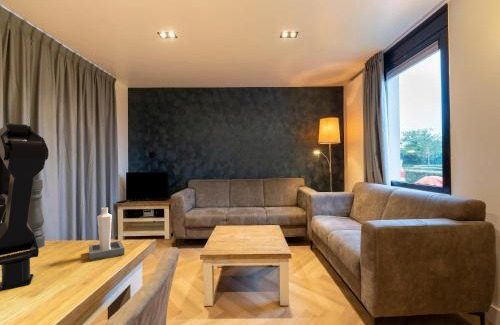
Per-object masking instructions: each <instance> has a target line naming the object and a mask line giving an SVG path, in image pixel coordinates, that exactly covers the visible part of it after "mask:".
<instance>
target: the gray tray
mask: <svg viewBox="0 0 500 325" xmlns="http://www.w3.org/2000/svg"><path fill="white" fill-rule="evenodd" d="M110 247H111V249H110V250H104V251H99V250H100V243H97V244H96V243H95V244H91V245H88V254H89V261H90V262H93V261H98V260H105V259H110V258H115V257H122V256H125V247H124V245H123V243H122V242H121V240H116V241H110Z"/></svg>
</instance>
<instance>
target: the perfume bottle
mask: <svg viewBox="0 0 500 325" xmlns="http://www.w3.org/2000/svg"><path fill="white" fill-rule="evenodd" d="M112 216H113V215H112V214H111V213H109V207H101V213H100V214H99V215H98V216H96V220H97V228H98V229H97V230H98V239H99V244H100V250H99V251H104V250H110V249H111V247H110V242H112V241H111V240H112V237H111V236H112V223H113V222H112V220H113V219H112V218H113V217H112Z"/></svg>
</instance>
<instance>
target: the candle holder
mask: <svg viewBox="0 0 500 325" xmlns="http://www.w3.org/2000/svg"><path fill="white" fill-rule="evenodd" d="M43 183H44V182H43V179H34V182H33V188H32V195H31V202H30V209H29V215H28V222H27V223H28V224H29V226H30V228H31V230H32V232H33V233H34V236H35V239H36V243H37V246H38V249H40V248H43V247H45V244H46V243H45V242H46V241H45V236H44V231H42V226H43V225H44V223H45V218H44V216H43V213H42V209H41V199H42V198H43V195H41V192H42V189H43V185H44V184H43Z"/></svg>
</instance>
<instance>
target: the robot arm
mask: <svg viewBox="0 0 500 325" xmlns="http://www.w3.org/2000/svg"><path fill="white" fill-rule="evenodd" d="M48 158H49V148H48V145H47V144H46V141H45V139H44V138H43V137H42V136H41V135H39V134H37V132H34V131H33V130H32V127H31V126H30V125H28V124H25V123H24V124H23V123H11V122H7V123H4V124H3V126H2V127H1V128H0V267H1V282H0V291H2V290H7V289H12V288H16V287H22V286H28V285H30V284H31V283H32V280H33V278H34V273H31V259H33V258H37V257H39V252H40V250H39V249H40V248H38V246H37V243H36V239H35V236H34V233H33V232H32V230H31V228H30V226H29V224H28V223H27V222H28V215H29V209H30V202H31V195H32V188H33V182H34V180H35V177H36V176H38V175H39V174H40V172H42V171H43V170H44V168H45V165H46V161H47V160H49V159H48ZM29 249H30V250H29Z"/></svg>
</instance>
